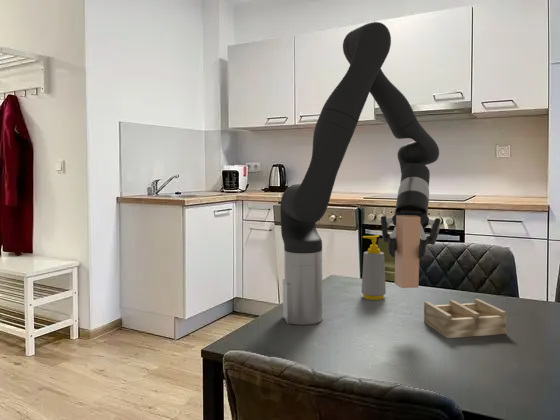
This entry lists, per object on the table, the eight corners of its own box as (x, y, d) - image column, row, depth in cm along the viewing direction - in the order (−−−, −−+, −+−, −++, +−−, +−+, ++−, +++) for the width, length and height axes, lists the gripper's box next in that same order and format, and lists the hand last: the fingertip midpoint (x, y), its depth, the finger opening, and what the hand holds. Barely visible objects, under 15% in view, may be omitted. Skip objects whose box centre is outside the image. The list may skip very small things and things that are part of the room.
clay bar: (401, 288, 107) (403, 217, 106) (394, 283, 111) (396, 215, 109) (418, 287, 108) (420, 217, 106) (410, 283, 111) (412, 215, 110)
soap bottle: (356, 295, 139) (357, 234, 138) (378, 293, 141) (378, 233, 140) (368, 301, 133) (368, 237, 131) (390, 299, 135) (391, 236, 133)
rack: (447, 338, 104) (447, 315, 103) (423, 322, 114) (424, 301, 114) (505, 333, 106) (506, 311, 105) (477, 318, 117) (478, 298, 116)
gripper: (381, 188, 117) (372, 244, 107) (443, 189, 112) (440, 248, 102) (384, 208, 122) (375, 263, 112) (443, 210, 117) (440, 267, 107)
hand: (406, 255), depth 107 cm, fingers closed on clay bar, 5 cm apart
